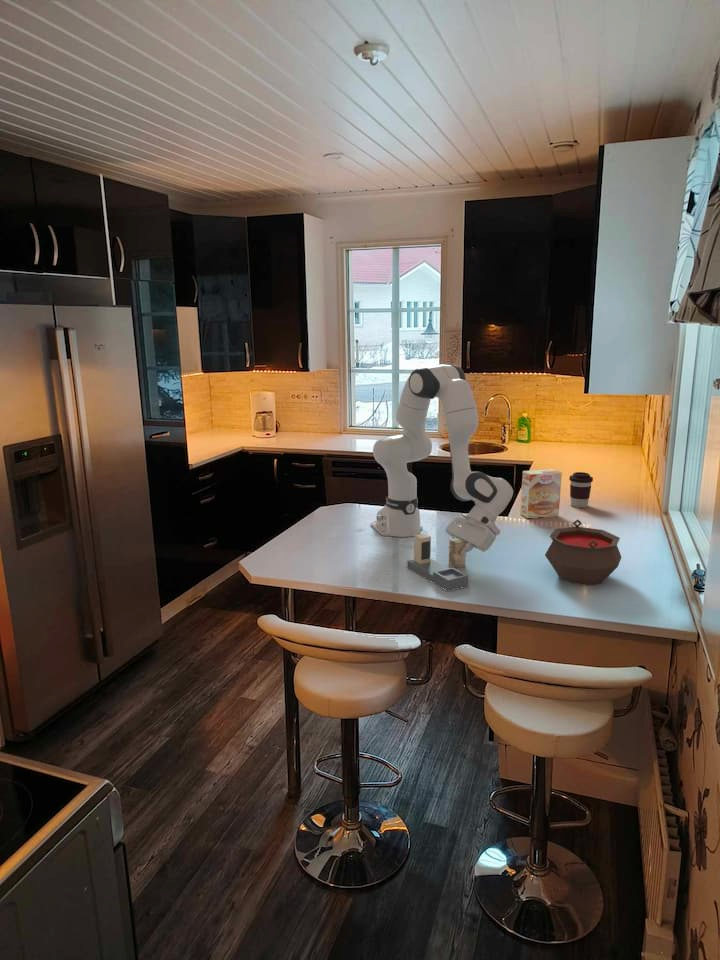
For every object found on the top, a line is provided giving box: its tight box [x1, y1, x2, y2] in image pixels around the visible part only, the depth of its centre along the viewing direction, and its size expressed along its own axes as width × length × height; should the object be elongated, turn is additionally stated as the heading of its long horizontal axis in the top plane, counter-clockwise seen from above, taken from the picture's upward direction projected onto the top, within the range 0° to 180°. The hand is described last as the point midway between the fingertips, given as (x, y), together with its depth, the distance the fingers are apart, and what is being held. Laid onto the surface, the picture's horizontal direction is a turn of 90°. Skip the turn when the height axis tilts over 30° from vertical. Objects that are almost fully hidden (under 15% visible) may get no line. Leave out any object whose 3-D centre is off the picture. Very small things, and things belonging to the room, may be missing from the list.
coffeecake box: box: [519, 468, 563, 519], centre depth 271 cm, size 15×7×20 cm, turn 104°
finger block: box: [448, 538, 467, 568], centre depth 216 cm, size 4×4×9 cm
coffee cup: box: [568, 471, 594, 508], centre depth 285 cm, size 10×10×15 cm
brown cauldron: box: [544, 519, 622, 586], centre depth 205 cm, size 24×24×16 cm
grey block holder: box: [406, 532, 469, 592], centre depth 206 cm, size 23×8×12 cm, turn 28°
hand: (455, 552), depth 216 cm, fingers closed on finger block, 4 cm apart
